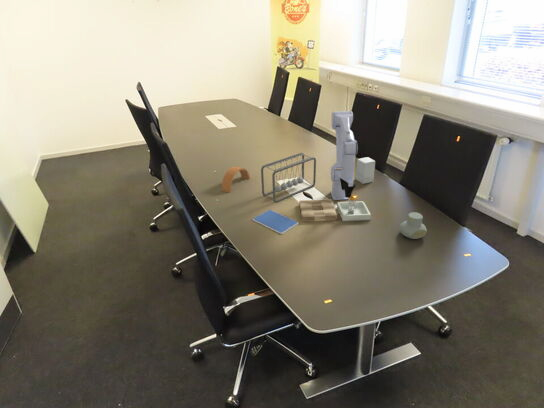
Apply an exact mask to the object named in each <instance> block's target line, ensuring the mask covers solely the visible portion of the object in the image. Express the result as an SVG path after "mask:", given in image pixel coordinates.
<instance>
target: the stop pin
mask: <svg viewBox="0 0 544 408" xmlns="http://www.w3.org/2000/svg"><path fill="white" fill-rule="evenodd" d="M347 200H348V202H349V209H348V213H349V214H354V213H355V203H356V202H357V200H358V195H357V194H353V193H352V194H351V196H350V197H349V198H348V199H347Z"/></svg>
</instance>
